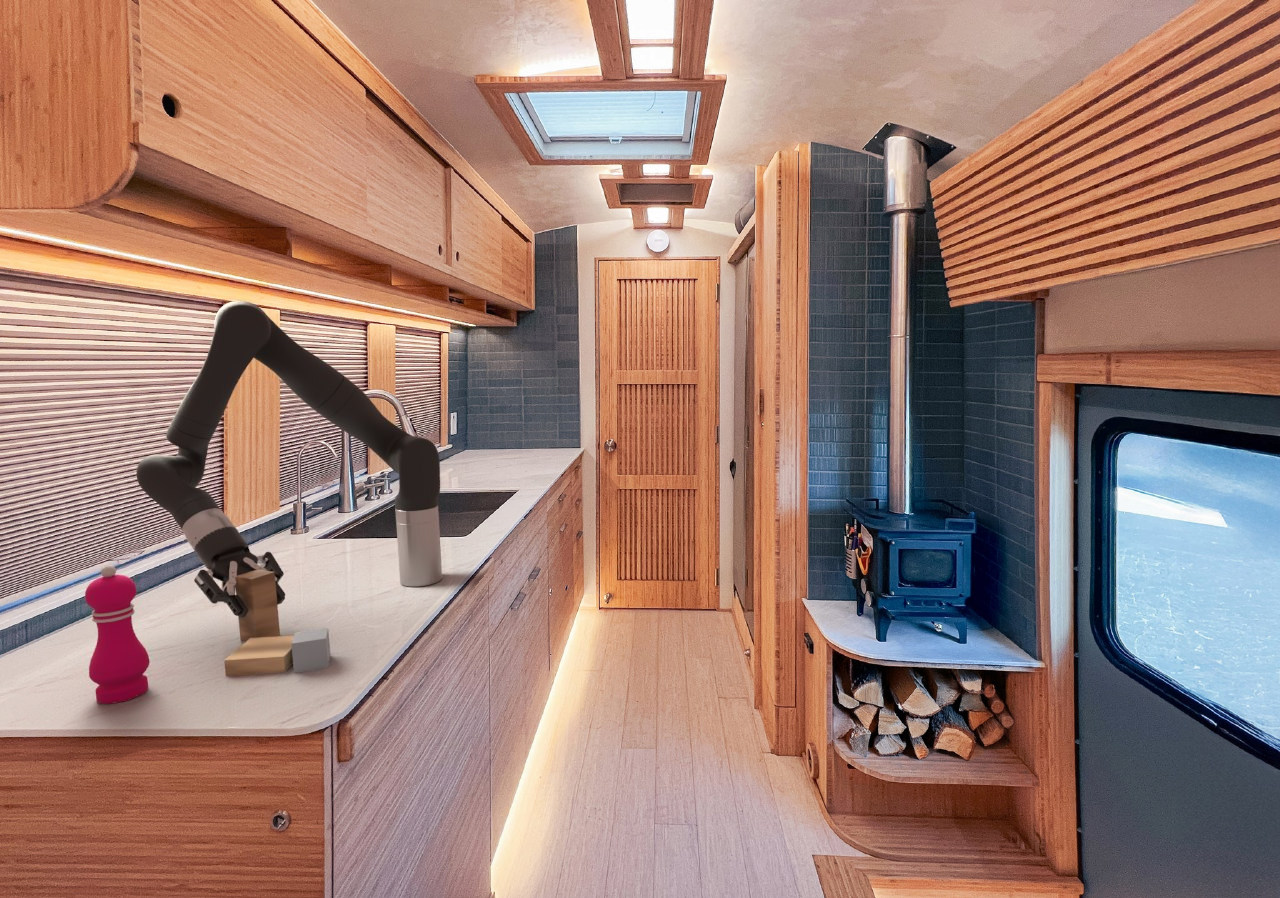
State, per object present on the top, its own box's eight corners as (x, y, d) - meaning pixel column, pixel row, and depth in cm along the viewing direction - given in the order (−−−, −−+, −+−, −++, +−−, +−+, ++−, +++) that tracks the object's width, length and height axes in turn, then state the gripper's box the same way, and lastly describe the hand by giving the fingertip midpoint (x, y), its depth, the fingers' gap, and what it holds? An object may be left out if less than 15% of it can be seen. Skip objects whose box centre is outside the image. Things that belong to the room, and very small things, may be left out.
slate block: (297, 661, 112) (295, 632, 112) (330, 655, 114) (328, 627, 113) (294, 673, 108) (291, 643, 107) (328, 667, 109) (325, 638, 109)
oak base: (251, 654, 116) (250, 638, 116) (306, 651, 117) (304, 634, 117) (225, 678, 107) (224, 660, 107) (285, 674, 108) (283, 656, 108)
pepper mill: (133, 680, 106) (119, 557, 104) (163, 687, 103) (149, 561, 101) (81, 701, 100) (64, 570, 97) (111, 709, 97) (95, 575, 94)
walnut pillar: (240, 640, 121) (234, 576, 120) (263, 631, 125) (257, 569, 124) (257, 644, 119) (251, 579, 118) (280, 635, 123) (274, 571, 122)
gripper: (182, 534, 116) (233, 608, 113) (259, 517, 129) (307, 583, 126) (167, 561, 119) (216, 634, 116) (243, 542, 132) (290, 607, 129)
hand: (263, 607), depth 121 cm, fingers open, 6 cm apart
